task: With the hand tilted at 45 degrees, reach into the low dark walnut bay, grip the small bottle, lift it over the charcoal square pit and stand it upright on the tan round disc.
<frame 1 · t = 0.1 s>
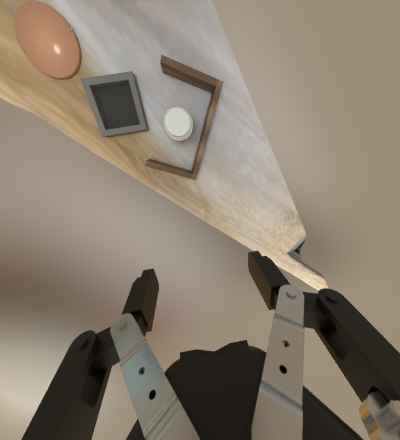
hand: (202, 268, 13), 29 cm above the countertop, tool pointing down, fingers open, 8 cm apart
walnut bay: (179, 128, 34), on the countertop
supplement bottle: (179, 128, 34), on the countertop
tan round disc: (52, 45, 27), on the countertop
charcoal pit: (120, 108, 31), on the countertop
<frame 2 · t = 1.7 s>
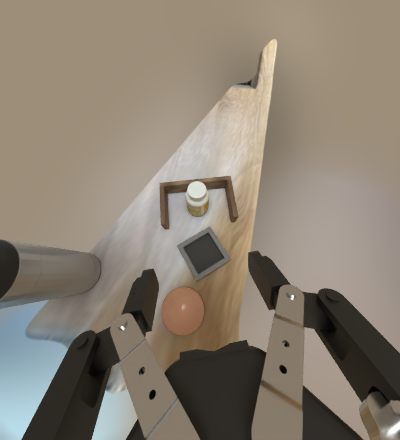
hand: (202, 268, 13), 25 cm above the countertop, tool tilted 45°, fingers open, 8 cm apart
walnut bay: (198, 207, 41), on the countertop
supplement bottle: (198, 207, 42), on the countertop
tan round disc: (183, 309, 34), on the countertop
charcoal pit: (203, 253, 38), on the countertop
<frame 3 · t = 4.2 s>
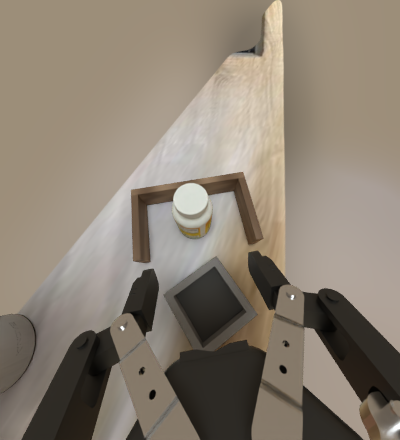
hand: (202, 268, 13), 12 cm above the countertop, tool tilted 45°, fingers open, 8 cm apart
walnut bay: (195, 223, 27), on the countertop
supplement bottle: (195, 224, 27), on the countertop
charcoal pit: (208, 301, 23), on the countertop
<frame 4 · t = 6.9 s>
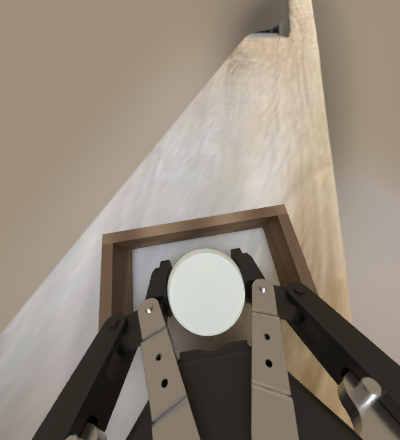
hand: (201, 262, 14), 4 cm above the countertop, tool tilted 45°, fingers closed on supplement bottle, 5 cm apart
walnut bay: (205, 282, 17), on the countertop
supplement bottle: (205, 281, 17), on the countertop, touching gripper
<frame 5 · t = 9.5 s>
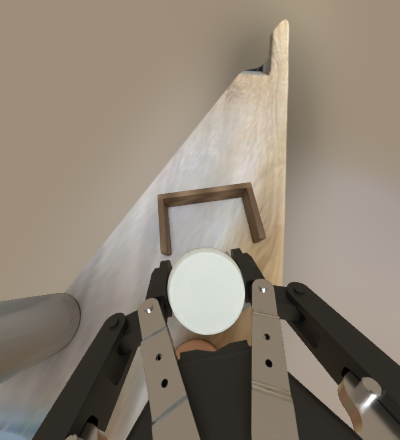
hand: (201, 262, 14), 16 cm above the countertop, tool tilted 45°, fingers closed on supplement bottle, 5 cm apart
walnut bay: (208, 224, 32), on the countertop
supplement bottle: (205, 281, 17), point 12 cm above the countertop, touching gripper
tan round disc: (196, 373, 24), on the countertop
when the fingers open (7 cm above the countertop, at t = 12.6 s): supplement bottle drops 1 cm, resting on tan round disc.
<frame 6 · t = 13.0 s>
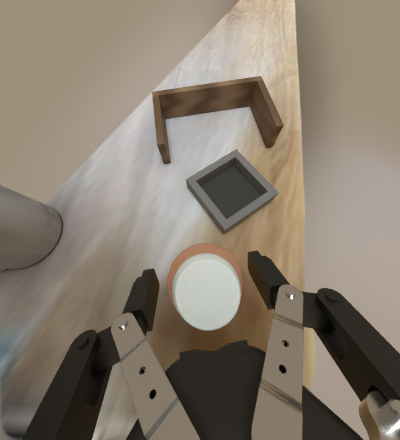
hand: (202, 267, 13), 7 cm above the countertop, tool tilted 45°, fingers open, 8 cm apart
walnut bay: (212, 132, 27), on the countertop
supplement bottle: (205, 282, 19), point 1 cm above the countertop, touching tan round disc
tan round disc: (205, 280, 19), on the countertop
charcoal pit: (229, 193, 23), on the countertop
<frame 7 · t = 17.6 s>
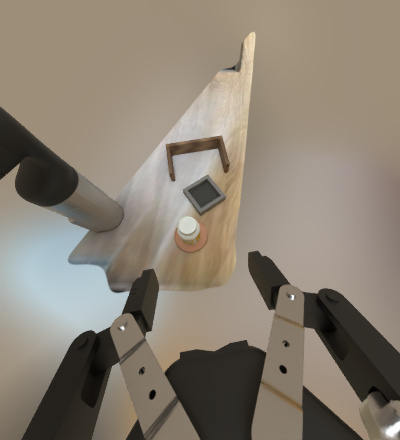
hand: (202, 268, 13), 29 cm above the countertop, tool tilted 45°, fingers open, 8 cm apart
walnut bay: (197, 163, 51), on the countertop
supplement bottle: (191, 235, 42), point 1 cm above the countertop, touching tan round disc
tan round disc: (191, 235, 43), on the countertop
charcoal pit: (204, 196, 47), on the countertop
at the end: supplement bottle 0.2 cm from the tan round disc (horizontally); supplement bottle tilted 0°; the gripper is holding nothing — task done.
